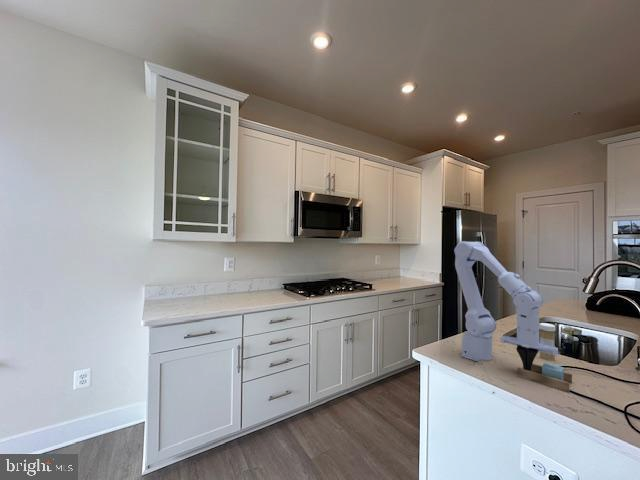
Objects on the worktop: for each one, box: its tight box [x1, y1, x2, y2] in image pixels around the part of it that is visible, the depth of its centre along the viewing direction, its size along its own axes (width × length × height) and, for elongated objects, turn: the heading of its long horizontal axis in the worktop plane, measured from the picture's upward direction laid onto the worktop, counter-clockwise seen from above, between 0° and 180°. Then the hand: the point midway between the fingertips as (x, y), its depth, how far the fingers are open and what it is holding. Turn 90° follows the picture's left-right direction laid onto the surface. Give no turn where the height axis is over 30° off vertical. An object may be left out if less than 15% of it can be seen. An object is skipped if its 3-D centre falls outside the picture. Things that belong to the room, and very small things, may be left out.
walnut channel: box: [517, 362, 573, 394], centre depth 84 cm, size 12×8×4 cm
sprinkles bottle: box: [539, 322, 556, 362], centre depth 100 cm, size 5×5×14 cm
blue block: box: [541, 362, 565, 380], centre depth 82 cm, size 4×4×4 cm
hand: (527, 370), depth 87 cm, fingers closed
